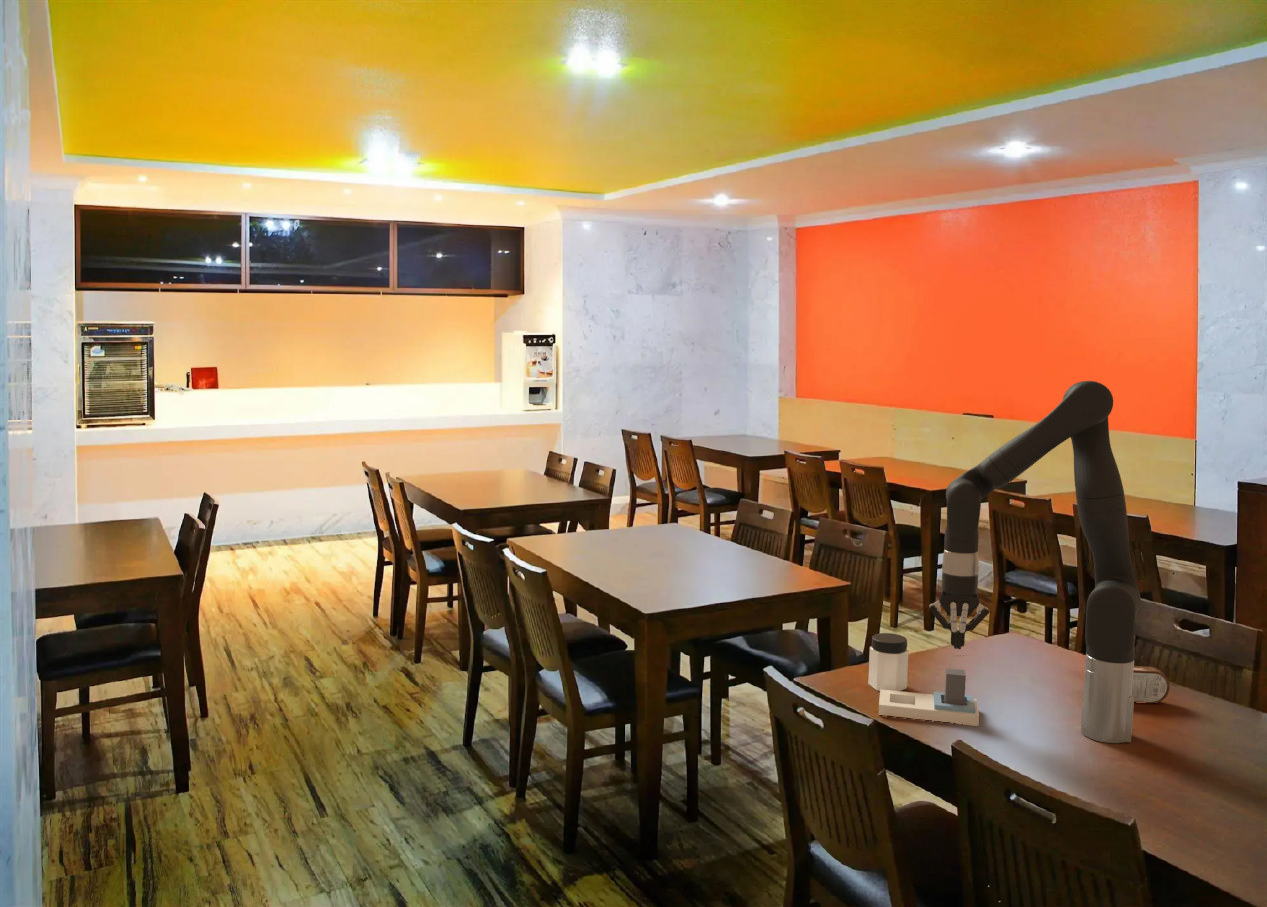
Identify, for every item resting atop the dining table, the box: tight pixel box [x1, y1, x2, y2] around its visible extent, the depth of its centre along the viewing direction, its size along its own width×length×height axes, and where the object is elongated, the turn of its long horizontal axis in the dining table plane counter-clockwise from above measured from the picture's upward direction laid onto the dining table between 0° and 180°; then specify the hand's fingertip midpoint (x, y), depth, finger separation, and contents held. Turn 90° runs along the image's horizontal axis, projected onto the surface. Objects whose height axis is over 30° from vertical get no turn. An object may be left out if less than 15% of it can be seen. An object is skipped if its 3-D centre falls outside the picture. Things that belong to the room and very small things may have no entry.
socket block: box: [878, 689, 980, 727], centre depth 228 cm, size 21×10×4 cm, turn 75°
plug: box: [944, 667, 967, 705], centre depth 226 cm, size 4×4×10 cm
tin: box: [1132, 665, 1171, 704], centre depth 235 cm, size 15×3×8 cm, turn 84°
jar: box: [868, 632, 909, 692], centre depth 244 cm, size 9×8×12 cm
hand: (957, 647), depth 225 cm, fingers closed
